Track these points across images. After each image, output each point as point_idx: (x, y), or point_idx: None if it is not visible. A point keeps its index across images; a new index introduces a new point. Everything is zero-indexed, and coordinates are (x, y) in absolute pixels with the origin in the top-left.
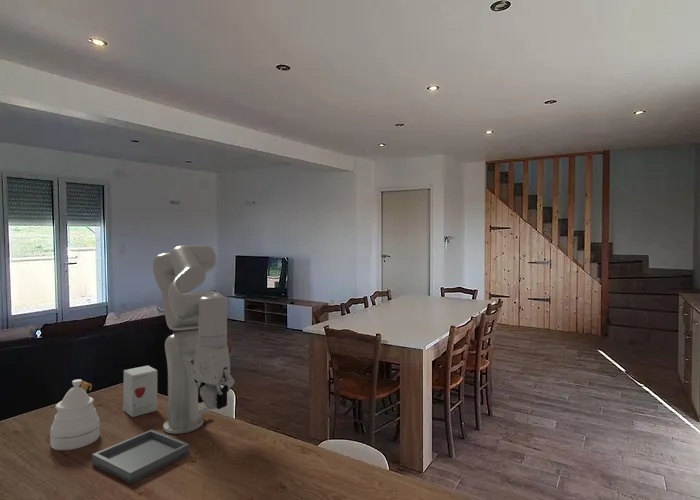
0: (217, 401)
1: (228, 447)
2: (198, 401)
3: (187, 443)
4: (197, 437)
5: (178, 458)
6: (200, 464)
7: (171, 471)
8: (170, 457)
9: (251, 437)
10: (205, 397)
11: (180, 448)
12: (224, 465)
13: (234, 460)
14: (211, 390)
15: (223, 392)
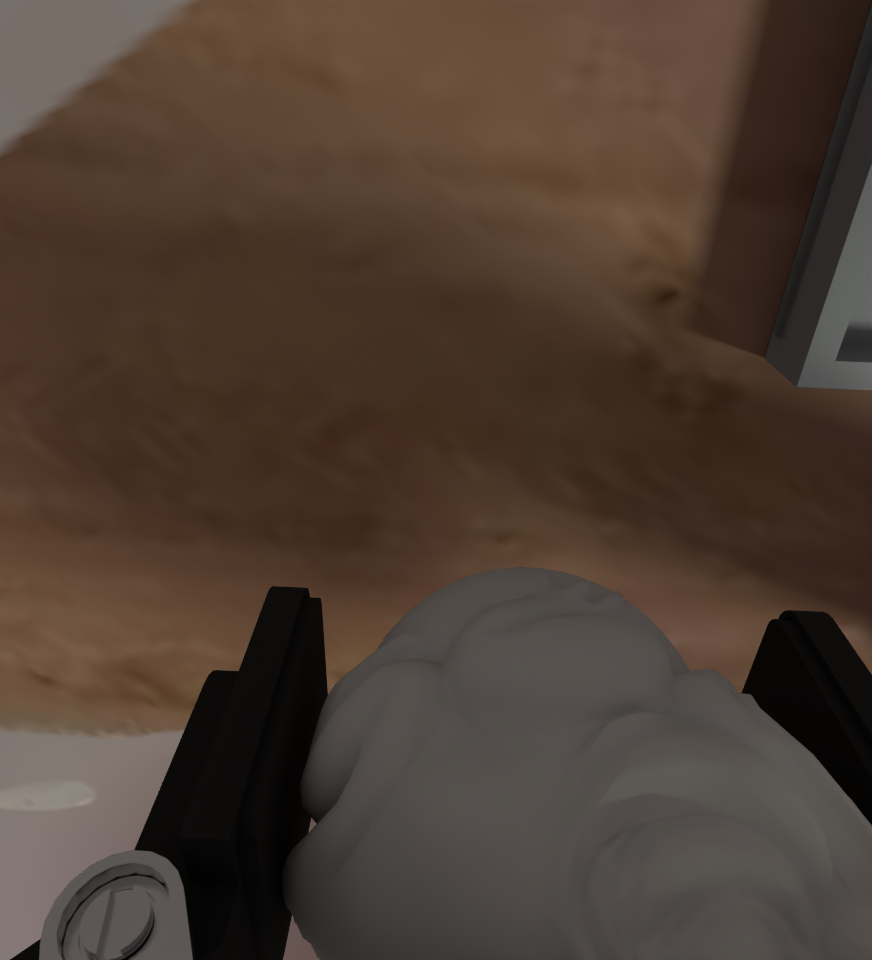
0: (247, 691)
1: (557, 533)
2: (821, 625)
3: (821, 387)
4: (854, 534)
5: (796, 259)
6: (577, 290)
7: (724, 90)
8: (843, 186)
9: None
10: (540, 682)
11: (826, 301)
12: (410, 365)
13: (400, 441)
14: (454, 928)
15: (38, 949)
